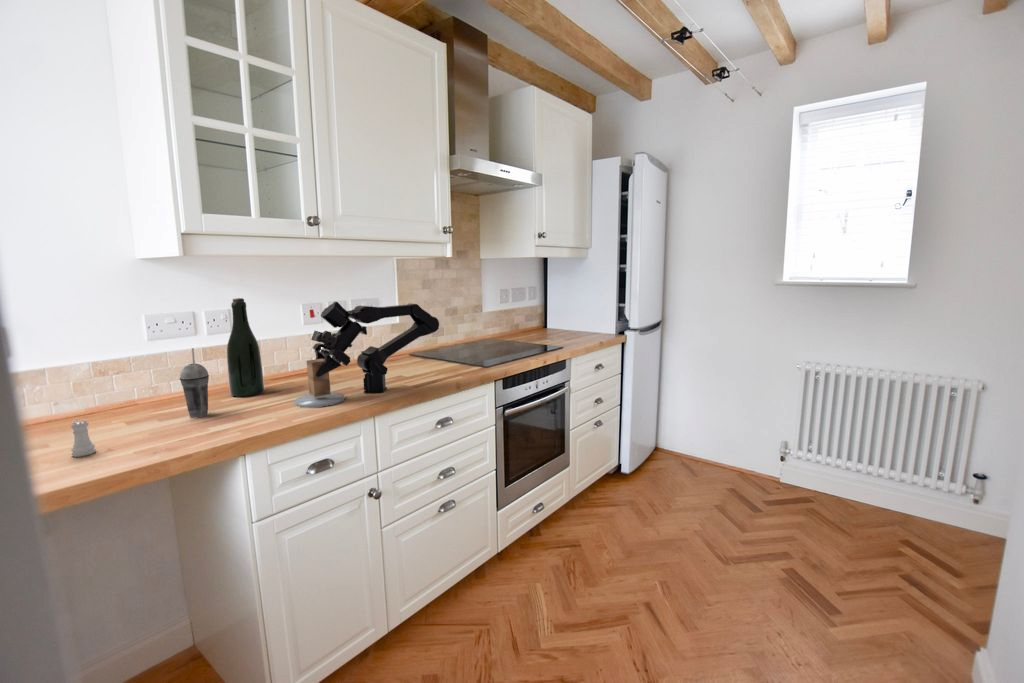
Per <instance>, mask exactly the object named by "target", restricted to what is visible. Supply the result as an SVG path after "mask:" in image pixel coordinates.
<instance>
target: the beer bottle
mask: <svg viewBox="0 0 1024 683" xmlns="http://www.w3.org/2000/svg"><path fill="white" fill-rule="evenodd" d="M230 307H231V310H232V326H231V331H230V335H229V338H228V342H227V344H226V360H227V363H226V364H227V374H228V385H229V386H228V387H229V394H230V395H231V396H232V397H234V396H236V397H235V398H245V397H244V396H247V397H252V395H253V396H256V394H257V395H260V394H262V393H263V392H264V391H265V380H264V372H263V364H262V355H261V350H260V345H259V343H258V342H259V341H258V340H257V338H256V336H255V334H254V332H253V330H252V329H251V326H250V323H249V318H248V312H247V303H246V301H245V299H244V298H242V297H238V298H237V297H236V298H232V302H231V306H230Z"/></svg>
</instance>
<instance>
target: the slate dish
mask: <svg viewBox="0 0 1024 683" xmlns="http://www.w3.org/2000/svg"><path fill="white" fill-rule="evenodd" d="M330 393H331V394H328V395H323V396H318V397H314V396H312V395H310V394H309V393H307V394H303V395H300V396H298V397H296V398H295V399H294V405H295V406H296V407H297V406H300V407H299V408H302V407H319V408H321V407H320V406H326V407H329V406H328V405H331V406H334V404H335V405H338V404H340V402H341V403H343V402H344V401H345V400H344V399H346V397H345V394H344V393H343V392H338V391H330ZM343 400H344V401H343ZM342 401H343V402H342ZM337 403H338V404H337Z"/></svg>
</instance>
